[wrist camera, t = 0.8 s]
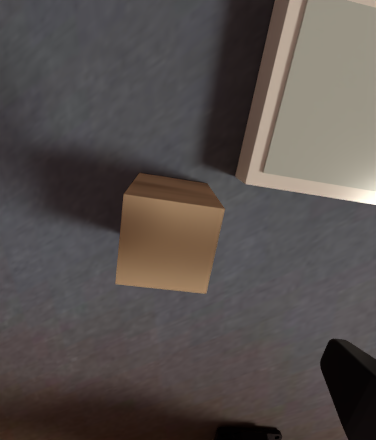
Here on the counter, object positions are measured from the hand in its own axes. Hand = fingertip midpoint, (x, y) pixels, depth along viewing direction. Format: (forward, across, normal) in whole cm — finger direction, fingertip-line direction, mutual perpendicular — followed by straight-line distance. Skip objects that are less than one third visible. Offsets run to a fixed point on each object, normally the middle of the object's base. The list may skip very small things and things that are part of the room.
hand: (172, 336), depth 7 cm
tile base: (+11, -9, -8) cm, 17 cm away
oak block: (+12, 0, 0) cm, 12 cm away
